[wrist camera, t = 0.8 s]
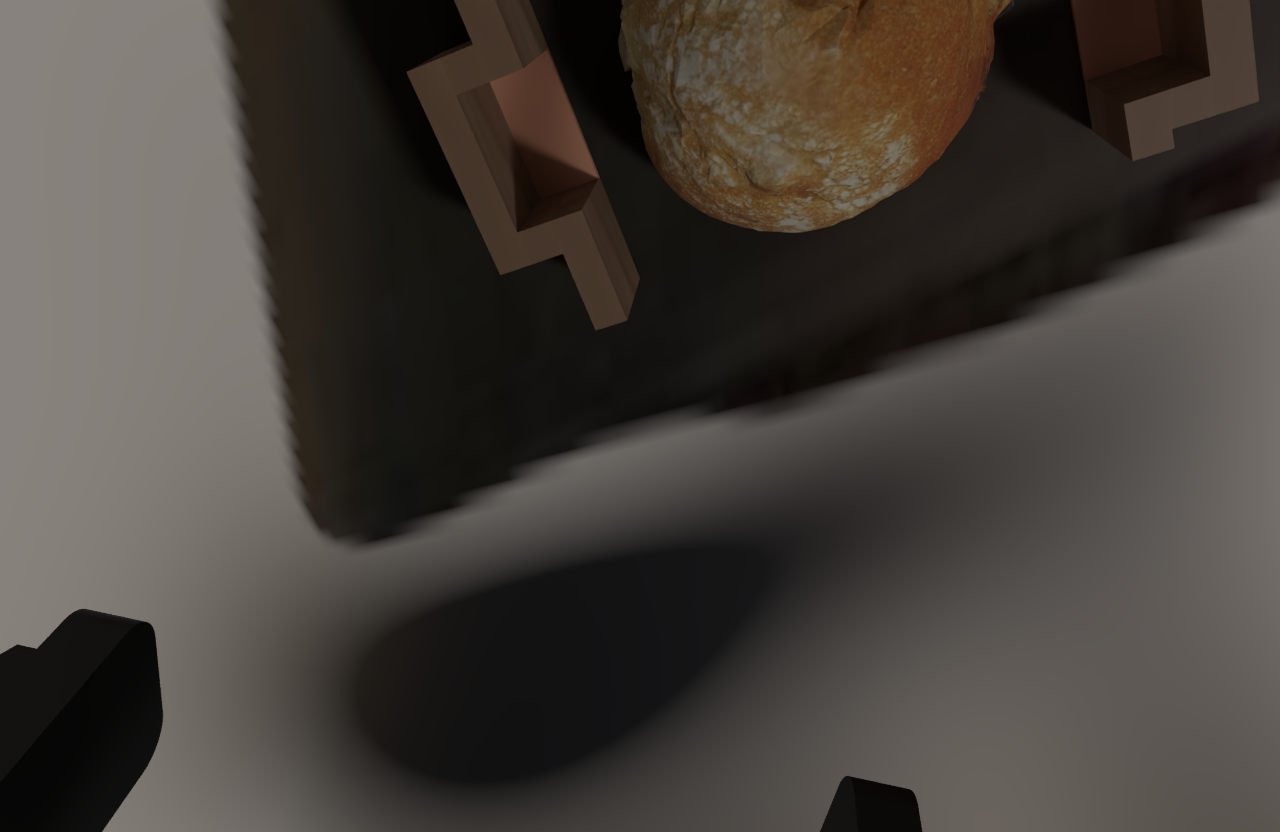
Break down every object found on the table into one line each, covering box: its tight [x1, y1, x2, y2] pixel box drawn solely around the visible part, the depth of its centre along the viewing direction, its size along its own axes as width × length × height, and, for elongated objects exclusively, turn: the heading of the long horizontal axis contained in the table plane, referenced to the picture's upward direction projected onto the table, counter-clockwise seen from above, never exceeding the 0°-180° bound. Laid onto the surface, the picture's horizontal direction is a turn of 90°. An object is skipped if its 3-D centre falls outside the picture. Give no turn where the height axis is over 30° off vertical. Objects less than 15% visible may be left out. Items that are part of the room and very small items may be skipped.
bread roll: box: [618, 0, 1014, 233], centre depth 26 cm, size 10×10×8 cm
